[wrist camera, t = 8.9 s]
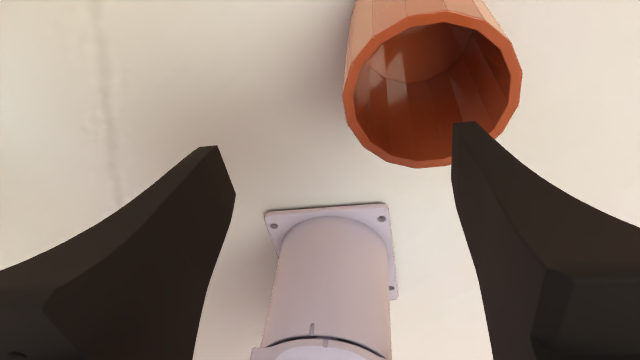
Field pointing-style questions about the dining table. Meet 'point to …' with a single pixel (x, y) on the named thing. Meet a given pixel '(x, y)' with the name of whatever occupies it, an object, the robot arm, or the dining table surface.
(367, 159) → the dining table surface
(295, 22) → the dining table surface
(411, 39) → the cup
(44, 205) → the dining table surface
